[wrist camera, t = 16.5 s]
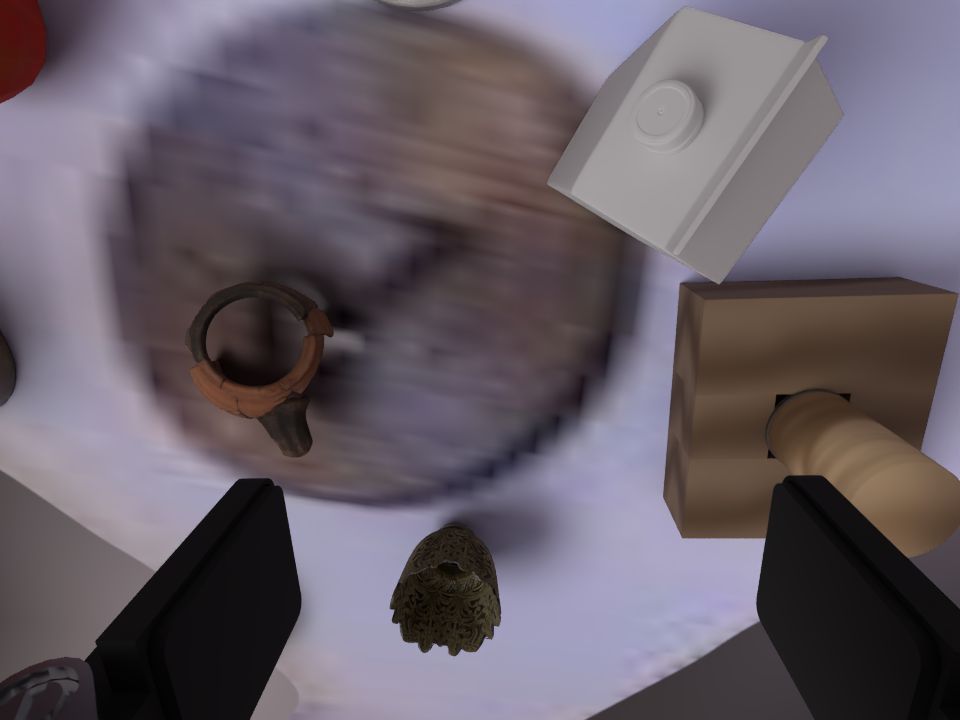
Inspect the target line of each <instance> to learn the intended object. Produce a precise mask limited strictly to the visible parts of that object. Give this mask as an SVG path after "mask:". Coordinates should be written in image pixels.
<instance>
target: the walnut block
mask: <svg viewBox="0 0 960 720" xmlns="http://www.w3.org/2000/svg"><path fill="white" fill-rule="evenodd" d="M958 294H959V293H955V292H951V291H948V290H944V289H941V288H937V287H933V286H930V285H926V284H922V283H919V282H915V281H911V280H908V279H904V278H901V277H894V278H857V279H820V280H783V281H746V282H721V283H720V284H717V283H716V282H709V283H680V289H679V302H678V315H677V328H676V340H675V353H674V366H673V379H672V391H671V404H670V417H669V430H668V442H667V455H666V468H665V480H664V493H663V498H664V500H665V502H666V504H667V506H668V508H669V511H670V513H671V515H672V517H673V519H674V521H675V523H676V526H677V528H678V530H679V532H680V534H681V536H682V538H766V533H767V527H768V520H769V514H770V507H771V500H772V494H773V489H774V486H775V485H776V484H777V483H782V482H783V480H784V478H785V477H786V476H788V475H792V473H791V472H790V471H789V470H788V469H787V468H786V467H785V466H784V465H783V464H782V463H781V462H780V461H779V460H778V459H777V458H776V457H775V456H774V455H773V454H772V453H771V451H770V450H769V448H768V446H767V443H766V438H765V428H766V423H767V421H768V418H769V416H770V414H771V413H772V411H773V410H774V407H775V400H776V394H795V393H797V392H800V391H803V390H809V389H823V390H829V391H832V392H835V393H837V394H839V395H840V396H842V397H843V398H845V399H846V400H847V401H848V402H849V403H851V404H852V405H853V406H855V407H856V408H858V409H859V410H861V411H862V412H864V413H865V414H867V415H868V416H869V417H871V418H872V419H874V420H875V421H877V422H878V423H880V424H881V425H883V426H884V427H885V428H887V429H888V430H890V431H891V432H893V433H894V434H896V435H897V436H899V437H900V438H902V439H903V440H904V441H906V442H907V443H909V444H910V445H912V446H913V447H915V448H916V449H918V450H919V451H920V450H921V446H922V442H923V438H924V434H925V430H926V426H927V422H928V418H929V413H930V409H931V405H932V401H933V397H934V393H935V389H936V385H937V380H938V376H939V372H940V368H941V364H942V360H943V356H944V352H945V347H946V343H947V339H948V335H949V331H950V327H951V323H952V319H953V315H954V310H955V306H956V302H957V298H958Z"/></svg>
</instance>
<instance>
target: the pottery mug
mask: <svg viewBox="0 0 960 720" xmlns="http://www.w3.org/2000/svg"><path fill="white" fill-rule="evenodd" d="M251 297H257V298H264V299H269V300H272V301H275V302H277V303H279V304H281V305H283V306H284V307H286V308H287V309H288V310H289V311H290V312H291V313H292V314H293V315H294V316H295V317H296V318H297V320H298V321H300V320H303V321H304V323H305V326H306V328H307V331H308V336H306V337H304V339H303V349H302V353H301V356H300V359H299V361H298V363H297V364H296V365H295V367H294V368H293V369H292V370H291V372H289V373H288V374H287V375H286V376H285V377H283V378H282V379H280V380H279V381H277V382H274V383H272V384H268V385H262V386H247V385H242V384H238V383H236V382H233V381H231V380H229V379H228V378H226V377H225V376H224V374H223V372H222V369H221V366H220V363H219V361H211V359H210V358H209V357H208V354H207V350H206V335H207V330H208V327H209V325H210V323H211V321H212V319H213V317H214V316H215V314H217V313H218V312H219V311H220V310H221V309H222V308H224V307H225V306H227V305H228V304H230V303H232V302H234V301H237V300H240V299H244V298H251ZM333 334H334V332H333V328H332V326H331V324H330V322H329V319H328V318H327V316H326V315H325V313H324V312H323V311H322V310H319V309H318V306H317V304H316V303H315V302H314V301H313V300H311V299H309V298H308V297H306V296H305V295H303V294H301V293H299V292H297V291H295V290H293V289H291V288H288V287H286V286H283V285H280V284H275V283H271V282H262V283H261V284H257V283H254V282H246V283H241V284H237V285H234V286H231V287H229V288H226V289H223V290H221V291H218V292H216V293H214V294H213V295H211V296H210V297H209V299H208V301H207V303H206V304H205V305H204V306H203V307H202V308H201V310H200V311H199V313H198V314H197V316H196V317H195V319H194V320H193V322H192V324H191V326H190V328H189V329H188V330H187V333H186V339H185V344H186V345H187V346H188V347H189V350H190V351H191V352H192V354H193V358H194V360H195V361H196V362H197V365H196V366H195V367H193V368H191V369H190V370H189V371H190V374H191V376H192V379H193V381H194V383H195V385H196V386H197V388H198V389H199V391H200V392H201V393H202V395H204V396H205V397H206V398H207V399H208V400H209V401H210V402H212V403H213V404H214V405H215V406H217V407H219V408H220V409H222V410H225V411H227V412H228V413H230V414H233V415H235V416H239V417H242V418H249V419H252V418H256V419H258V421H259V422H260V423H261V424H262V425H263V426H264V428H265V429H266V430H267V432H268V433H269V435H270V437H271V438H272V439H273V440H274V441H275V442H276V443H277V444H278V446H279V448H280V449H281V451H282V453H283V455H285V456H288V457H301V456H303V455H305V454H307V453H308V452H309V450H310V448H311V446H312V442H313V441H312V437H311V434H310V431H309V428H308V424H307V421H306V409H307V406H308V404H309V402H310V398H309V396H307V395H304V396H303V397H301V398H295V397H294V398H290V399H287V397H288V395H289V394H290V393H291V392H293V391H294V392H297V393H299V394H301V393H302V392H303V391H304V390H305V388H306V387H307V386H308V384H309V383H310V381H311V379H312V377H313V376H314V374H315V373H316V370H317V367H318V365H319V362H320V360H321V357H322V354H323V349H324V336H323V335H327V336H328V337H332V336H333ZM286 399H287V400H286Z"/></svg>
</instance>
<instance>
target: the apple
mask: <svg viewBox="0 0 960 720" xmlns="http://www.w3.org/2000/svg"><path fill="white" fill-rule="evenodd" d="M45 58H46V28H45V25H44V21H43V18H42V15H41V12H40V8H39V5H38V2H37V0H0V103H2V102H4V101H7V100H9V99H11V98H13V97H14V96H16V95H17V94H19V93H20V92H22V91H23V90H24V89H26V88H27V87H29V86H30V85H32V84H33V82H34V80H35V79H36V77H37V75H38V73H39V72H40V70H41V68H42V66H43V65H44V63H45Z"/></svg>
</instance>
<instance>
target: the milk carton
mask: <svg viewBox="0 0 960 720" xmlns="http://www.w3.org/2000/svg"><path fill="white" fill-rule="evenodd" d="M828 39H829V38H828V37H827V36H826V35H825V34H823V35H821V36H819V37H816V38H814V39H812V40H809V41H807V42H805V41H802V40H798V39H795V38H792V37H788V36H785V35H782V34H778V33H775V32H771V31H768V30H765V29H761V28H758V27H754V26H751V25H748V24H744V23H741V22H738V21H734V20H731V19H727V18H724V17H721V16H717V15H714V14H711V13H707V12H704V11H700V10H697V9H693V8H690V7H686V6H685V7H683V8H681V9H680V10H679V11H677V12H676V13H675V14H674V15H673V16H672V17H671V18H670V19H669V20H667V21H666V22H665V23H664V24H663V25H662V26H661V27H660V28H659V29H658V30H657V31H656V32H655V33H654V34H653V35H652V36H651V37H650V38H649V39H648V40H647V41H645V42H644V43H643V44H642V45H641V46H640V47H639V48H638V49H637V50H636V51H635V52H634V53H633V54H632V55H631V56H630V57H629V58H628V59H627V60H626V61H625V62H623V63H622V64H621V65H620V66H619V67H618V68H617V69H616V70H615V71H614V72H613V73H612V74H611V75H610V76H609V77H608V78H607V80H606V82H605V83H604V85H603V86H602V88H601V90H600V92H599V93H598V95H597V97H596V98H595V100H594V102H593V103H592V105H591V107H590V109H589V110H588V112H587V114H586V115H585V117H584V119H583V121H582V122H581V124H580V126H579V127H578V129H577V131H576V133H575V134H574V136H573V138H572V139H571V141H570V143H569V145H568V146H567V148H566V150H565V151H564V153H563V155H562V157H561V158H560V160H559V162H558V163H557V165H556V167H555V169H554V170H553V172H552V174H551V175H550V177H549V179H548V181H547V184H548V185H549V186H551V187H552V188H554V189H556V190H557V191H559V192H561V193H562V194H564V195H565V196H567V197H569V198H570V199H572V200H574V201H575V202H577V203H579V204H580V205H582V206H583V207H585V208H587V209H588V210H590V211H592V212H593V213H595V214H596V215H598V216H600V217H601V218H603V219H605V220H606V221H608V222H610V223H611V224H613V225H614V226H616V227H618V228H619V229H621V230H623V231H624V232H626V233H628V234H629V235H631V236H632V237H634V238H636V239H637V240H639V241H641V242H643V243H645V244H646V245H648V246H650V247H652V248H654V249H655V250H657V251H659V252H661V253H663V254H665V255H666V256H668V257H670V258H672V259H674V260H676V261H677V262H679V263H681V264H683V265H685V266H686V267H688V268H690V269H692V270H694V271H696V272H697V273H699V274H701V275H703V276H705V277H706V278H708V279H710V280H712V281H714V282H716V283H717V284H720V283H721V282H722V281H723V280H724V278H725V277H726V276H727V274H728V273H729V272H730V270H731V269H732V268H733V266H734V265H735V264H736V262H737V261H738V260H739V258H740V257H741V256H742V254H743V253H744V251H745V250H746V249H747V247H748V246H749V245H750V243H751V242H752V241H753V239H754V238H755V236H756V235H757V234H758V232H759V231H760V230H761V228H762V227H763V226H764V224H765V223H766V222H767V220H768V219H769V217H770V216H771V215H772V213H773V212H774V211H775V209H776V208H777V207H778V205H779V204H780V202H781V201H782V200H783V198H784V197H785V196H786V194H787V193H788V192H789V190H790V189H791V187H792V186H793V185H794V183H795V182H796V181H797V179H798V178H799V177H800V175H801V174H802V173H803V171H804V170H805V168H806V167H807V166H808V164H809V163H810V162H811V160H812V159H813V158H814V156H815V155H816V153H817V152H818V151H819V149H820V148H821V147H822V145H823V144H824V143H825V141H826V140H827V138H828V137H829V136H830V134H831V133H832V132H833V130H834V129H835V127H836V126H837V125H838V123H839V122H840V120H841V119H842V117H843V115H844V114H843V112H842V110H841V107H840V105H839V103H838V101H837V99H836V97H835V95H834V93H833V91H832V89H831V87H830V85H829V83H828V81H827V79H826V77H825V75H824V73H823V71H822V69H821V66H820V64H819V62H818V60H817V58H816V56H817V55H818V53H819V52H820V51H821V49H822V48H823V46H824V45H825V43H826V42H827V40H828Z"/></svg>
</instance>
